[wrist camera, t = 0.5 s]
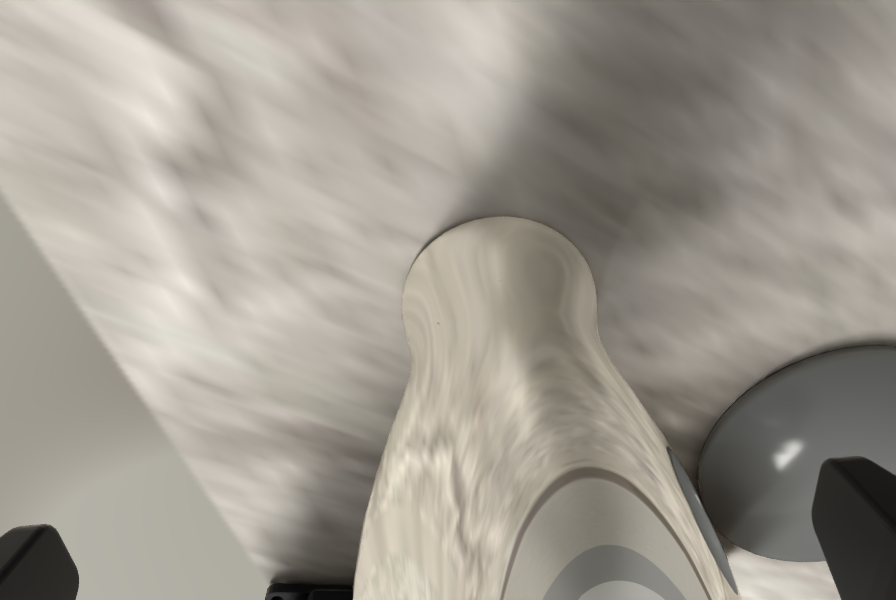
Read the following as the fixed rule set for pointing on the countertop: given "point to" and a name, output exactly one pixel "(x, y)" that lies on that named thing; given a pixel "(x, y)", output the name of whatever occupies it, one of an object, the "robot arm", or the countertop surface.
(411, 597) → the beer glass
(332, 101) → the countertop surface
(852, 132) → the countertop surface
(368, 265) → the countertop surface
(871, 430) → the slate coaster
